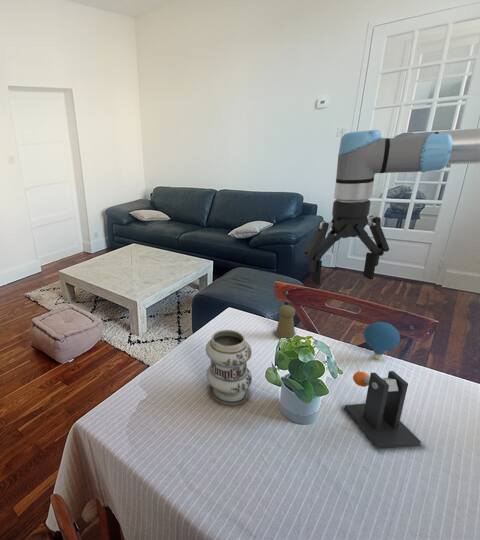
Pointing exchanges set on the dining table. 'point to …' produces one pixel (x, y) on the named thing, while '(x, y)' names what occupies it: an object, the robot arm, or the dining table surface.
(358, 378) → the switch lever
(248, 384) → the apothecary jar
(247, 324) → the dining table surface
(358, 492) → the dining table surface
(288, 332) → the cork
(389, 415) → the switch bracket
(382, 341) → the light bulb
